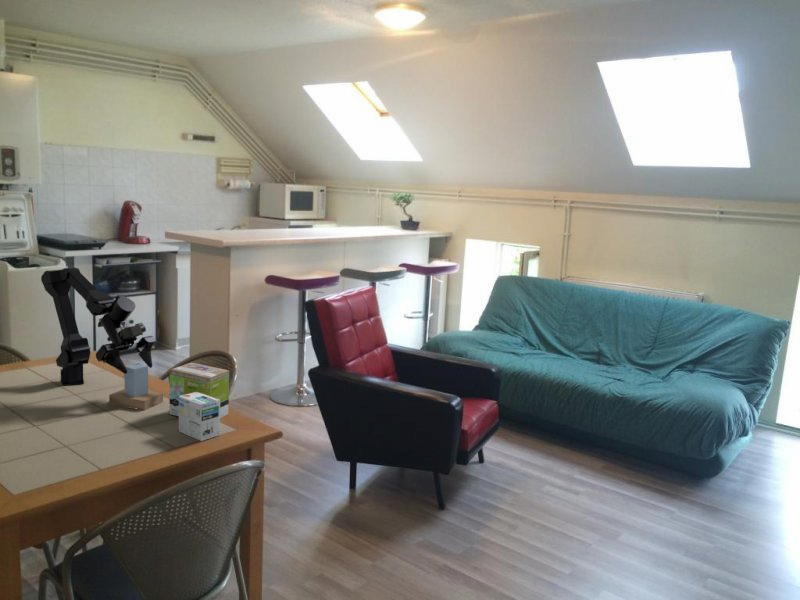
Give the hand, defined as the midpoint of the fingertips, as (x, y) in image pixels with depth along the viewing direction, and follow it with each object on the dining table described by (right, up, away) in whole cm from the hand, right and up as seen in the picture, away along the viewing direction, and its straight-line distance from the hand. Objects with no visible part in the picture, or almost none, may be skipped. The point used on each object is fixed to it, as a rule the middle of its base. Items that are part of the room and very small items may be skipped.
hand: (139, 370), depth 206 cm
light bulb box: (+25, -16, -19) cm, 35 cm away
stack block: (-2, -11, +3) cm, 12 cm away
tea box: (+20, -14, -5) cm, 25 cm away
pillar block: (-2, -8, +2) cm, 8 cm away
